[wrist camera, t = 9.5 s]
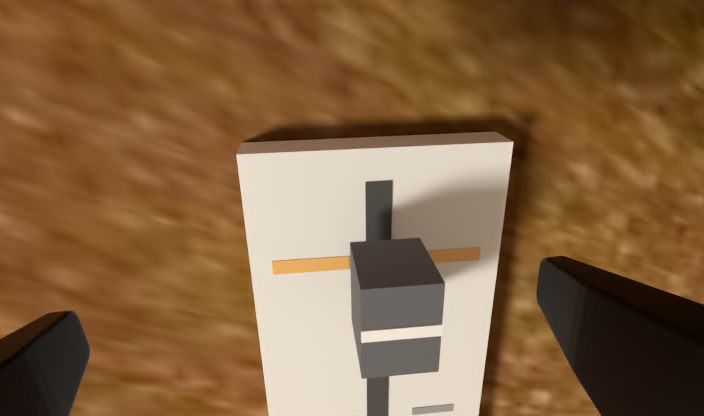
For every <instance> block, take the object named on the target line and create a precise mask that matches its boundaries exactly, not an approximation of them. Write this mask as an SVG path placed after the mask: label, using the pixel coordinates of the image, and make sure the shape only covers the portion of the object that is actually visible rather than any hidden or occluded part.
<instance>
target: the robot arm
mask: <svg viewBox="0 0 704 416" xmlns="http://www.w3.org/2000/svg"><path fill="white" fill-rule="evenodd" d="M537 301H538V304H539V306H540V308H541V310H542V312H543V314H544V316H545V318H546V320H547V322H548V324H549V326H550V328H551V330H552V332H553V334H554V336H555V338H556V340H557V342H558V344H559V346H560V348H561V350H562V352H563V354H564V356H565V358H566V360H567V361H568V363H569V365H570V367H571V369H572V370H573V372H574V374H575V375H576V377H577V379H578V380H579V382H580V383H581V385H582V386H583V388H584V389H585V391H586V393H587V394H588V396H589V397H590V399H591V400H592V402H593V403H594V405H595V406H596V408H597V410H598V411H599V413H600V414H601V416H704V305H703V304H700V303H697V302H694V301H692V300H689V299H686V298H683V297H680V296H677V295H674V294H672V293H669V292H666V291H663V290H660V289H657V288H654V287H651V286H649V285H646V284H643V283H640V282H637V281H634V280H631V279H629V278H626V277H623V276H620V275H617V274H614V273H611V272H609V271H606V270H603V269H600V268H597V267H594V266H591V265H588V264H586V263H583V262H580V261H577V260H574V259H571V258H568V257H565V256H556V257H547V258H544V259H543V260H542V261H541V263H540V268H539V276H538V284H537ZM89 355H90V347H89V343H88V341H87V338H86V335H85V333H84V330H83V328H82V325H81V322H80V320H79V317H78V315H77V314H76V313H75V312H73V311H61V312H52V313H48V314H46V315H44V316H42V317H40V318H38V319H37V320H35V321H33V322H31V323H29V324H27V325H26V326H24V327H22V328H20V329H18V330H16V331H15V332H13V333H11V334H9V335H7V336H5V337H3V338H2V339H0V416H69V415H70V412H71V409H72V406H73V404H74V401H75V398H76V395H77V392H78V389H79V386H80V383H81V380H82V377H83V375H84V372H85V369H86V366H87V363H88V360H89Z"/></svg>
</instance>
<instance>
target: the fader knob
mask: <svg viewBox="0 0 704 416" xmlns="http://www.w3.org/2000/svg"><path fill="white" fill-rule="evenodd" d="M350 268H351V313H352V325H353V331H354V337H355V343H356V348H357V354H358V360H359V366H360V372H361V378H362V379H366V378H376V377H387V376H397V375H408V374H418V373H429V372H439V360H440V346H441V336H442V326H443V325H442V320H443V307H444V294H445V282H444V280H443V278H442V277H441V275H440V273H439V271H438V269H437V268H436V266H435V264H434V262H433V260H432V259H431V257H430V255H429V253H428V251H427V250H426V248H425V246H424V244H423V242H422V241H421V239H420V238H406V239H391V240H375V241H360V242H350Z"/></svg>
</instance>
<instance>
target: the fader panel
mask: <svg viewBox="0 0 704 416" xmlns="http://www.w3.org/2000/svg"><path fill="white" fill-rule="evenodd" d="M513 143H514V142H513V141H511V140H510V139H508V138H506V137H504V136H502V135H501V134H499V133H497V132H473V133H450V134H427V135H405V136H382V137H359V138H336V139H313V140H290V141H268V142H245V143H242V144H241V146H240V148H239V150H238V152H237V154H236V156H237V164H238V172H239V180H240V188H241V196H242V204H243V212H244V220H245V228H246V236H247V244H248V252H249V260H250V268H251V276H252V284H253V292H254V300H255V308H256V316H257V324H258V332H259V340H260V348H261V356H262V364H263V372H264V380H265V388H266V396H267V404H268V412H269V416H478V415H479V407H480V400H481V392H482V384H483V376H484V369H485V361H486V353H487V345H488V337H489V330H490V322H491V314H492V306H493V298H494V291H495V283H496V275H497V267H498V260H499V252H500V244H501V236H502V228H503V221H504V213H505V205H506V197H507V189H508V182H509V174H510V166H511V158H512V150H513ZM406 238H420V239H421V241H422V242H423V244H424V246H425V248H426V250H427V251H428V253H429V255H430V257H431V259H432V260H433V262H434V264H435V266H436V268H437V269H438V271H439V273H440V275H441V277H442V278H443V280H444V282H445V294H444V307H443V320H442V325H443V326H442V336H441V346H440V360H439V372H429V373H418V374H408V375H397V376H387V377H376V378H366V379H362V378H361V372H360V366H359V360H358V354H357V348H356V343H355V337H354V331H353V325H352V313H351V268H350V242H360V241H375V240H391V239H406Z"/></svg>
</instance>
